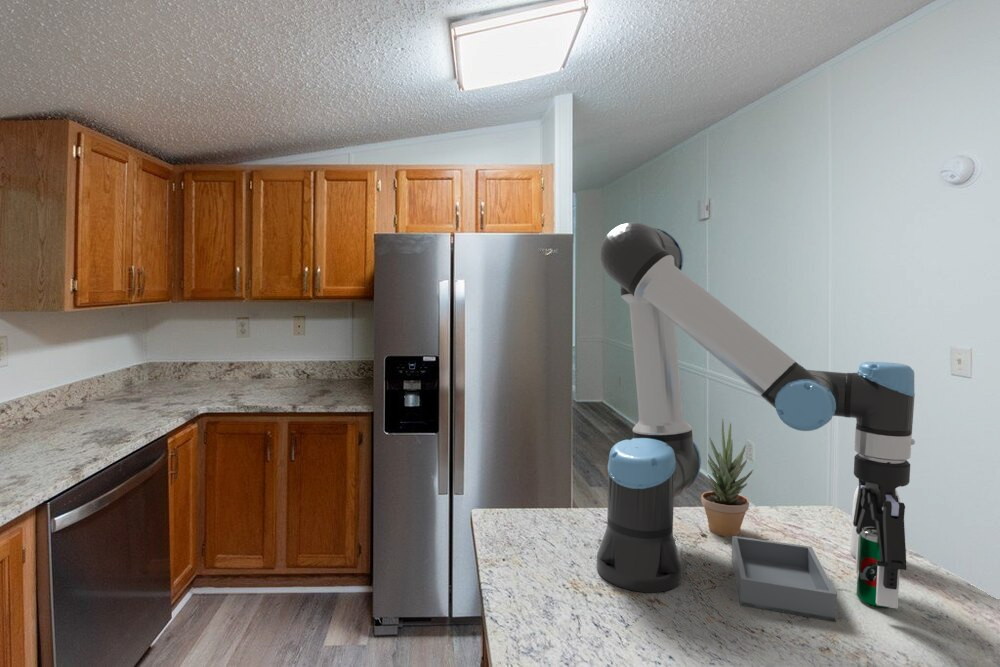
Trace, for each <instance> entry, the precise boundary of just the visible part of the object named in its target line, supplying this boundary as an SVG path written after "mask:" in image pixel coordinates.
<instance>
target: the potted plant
mask: <svg viewBox="0 0 1000 667" xmlns="http://www.w3.org/2000/svg"><path fill="white" fill-rule="evenodd" d="M709 444H710V446H711V450H712V452H713V454H714V457H715V459H716V462H717V464H718V465H717V464H716V462H714V460H713V459H712V457H711V455H710V454H709V453H707V455H708V459H707V464H708V465H709V468H710V470H711V475H712V477H713V478H712V477H711V476H710V475H709V474H708V475H707V476H708V478H709V480H710V481H711V483H712V484H713V485H712V484H711V483H709V482H708V485H709V487H710V488H711V490H712V491H711V490H710V491H705V492H703V493H702V494H701V497H700V498H701V504H702V505H703V507H704V512H705V515H706V518H707V523H708V524H707V525H708V529H709V531H710V532H711V533H714V534H717V535H718V536H721V537H732V536H736V535H737V536H739V534H740V533H741V527H742V524H743V521H744V519H745V516H746V512H747V511H748V510H749V509H750V501H749V499H748V498H747V497H745V496H743V495H741V494H740V493H741V492H742V490H743V489H744V488H745V487H746V486H747V485H748V483H745V482H746V480H748V478H749V477H750V476H751V475H752V474H753V472H754V469H752V470H751V471H749V473H748V474H747V475H745V476H743V477H742V478H739V476H740V474H741V473H742V471H743V469H744V467H745V466H746V464H747V459H746V460H744V455H745V452H746V451H745V450H746V447H747V444H744V446H743V448H742V449H741V451H740V452H739V453H738V455H737V456H736V457H735V459H734V460H733V450H734V449H733V448H734V446H733V444H734V442H733V439H732V423H731V422H730V423H729V427H728V430H727V437H726V438H725V426H724V418H722V419H721V450H722V452H718V451H717V448H716V447H715V445H714V443H713V440H712V438H711V437H709ZM721 453H722V454H721ZM743 460H744V462H743ZM738 478H739V479H738Z"/></svg>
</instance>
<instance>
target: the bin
mask: <svg viewBox="0 0 1000 667" xmlns="http://www.w3.org/2000/svg"><path fill="white" fill-rule="evenodd" d="M730 558H731V562H732V568H733V569H732V570H733V573H734V579H735V585H736V589H737V595H738V600H739V604H740V606H741V607H742V606H744V607H749V608H754V609H760V610H765V611H770V612H771V611H773V612H776V613H784V614H789V615H795V616H800V617H806V618H812V619H818V620H823V621H828V622H836V618H837V617H836V616H837V596H838V595H837V592H836V590H835V588H834V586H833V585H832V583H831V581H830V579H829V576H828V575H827V573H826V571H825V569H824V567H823V566H822V564H821V561H820V559H818V556H817V554H816V552H815V550H814V549H813V547H812V546H811V545H810V546H809V545H803V544H802V545H801V544H795V543H789V542H787V543H786V542H782V541H781V542H780V541H772V540H766V539H765V540H764V539H758V538H751V537H744V536H743V537H742V536H738V535H737V536H731V556H730Z"/></svg>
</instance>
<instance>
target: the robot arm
mask: <svg viewBox="0 0 1000 667" xmlns="http://www.w3.org/2000/svg"><path fill="white" fill-rule="evenodd" d="M600 246H601V247H600V251H599V252H600V254H599V255H600V256H599V257H600V263H601V266H602V268H603V269H604V272H605V273H606V274H607V275H608V276H609V278H611V279H612V280H613V281H615V283H617V284H618V285H620V286H619V287H620V296H621V299H622V300H624V301H625V302H626V303H628V306H629V315H630V324H631V337H632V339H631V340H632V349H633V350H632V351H633V360H634V373H635V374H634V375H635V386H636V396H637V397H636V398H637V408H638V422H637V423H636V424H635V425H634V426H633V428H632V438H631V439H624V440H620V441H619V442H616V443H615V444H614V445H613V446H612V447H611V449H610V451H609V456H608V462H607V512H606V513H607V517H606V519H607V521H606V524H607V525H606V529H605V532H604V535H603V537H602V539H601V543H600V546H599V548H598V551H597V554H596V571H597V573H598V574H599V575H600V576H601V577H602V578H603V579H604V580H605V581H607V582H609V583H610V584H612V585H614V586H617V587H619V588H621V589H625V590H629V591H634V592H641V593H660V592H666V591H669V590H672V589H674V588H675V587H678V585H679V584H680V583H681V582H682V574H683V570H682V569H683V567H682V566H683V564H682V561H681V558H680V554H679V551H678V546H677V544H676V540H675V537H674V532H673V531H674V507H675V506H674V504H675V499H676V498H678V497H679V496H680V495H681V494H683V493H684V492H685V491H686V490H687V489H689V488H690V487H691V486H692V485H693V484H694V483H695V481H696V480H697V477H698V476H699V472H700V471H701V464H702V457H701V452H700V450H699V448H698V445H697V444H696V442H695V441H694V437H693V427H692V425H690V424H689V423H688V422H687V421H686V420H685V419H684V415H683V414H684V413H683V404H682V403H683V402H682V401H683V400H682V392H681V390H682V389H681V379H680V368H679V355H678V344H677V331H676V326H678V328H680V329H681V330H682V331H683V332H685V334H687V335H689V336H690V337H691V339H693V340H694V341H696V342H697V343H698V344H699V345H700V346H701V347H703V348H704V350H706V351H708V352H709V354H711V355H712V356H713V357H715V358H716V359H717V360H718V361H719V362H720V363H722V365H724V366H725V367H726V368H727V369H729V370H730V371H731V372H732V373H733V374H735V375H736V376H737V377H738V378H739V379H741V380H742V381H743V382H744V383H745V384H747V385H748V386H749V387H750V388H751V389H752V390H753V391H754V392H756V393H757V394H758V395H759V396H761V397H762V398H763V399H764V400H765V401H766V402H767V403H769V404H770V405H771V406H772V408H774V409H775V411H776V414H777V415H778V417H779V419H780V420H781V421H782V422H783V423H784V424H785V425H786V426H788V427H790V428H791V429H794V430H796V431H801V432H810V431H811V432H812V431H815V430H818V429H820V428H822V427H824V426H825V425H827V424H828V423H829V422H830V421H831V420H833V417H843V418H851V419H852V418H853V419H854V418H855V419H856V421H855V422H856V423H855V432H854V433H855V434H854V451H855V452H856V455H854V459H853V460H854V462H853V475H854V477H856V478H857V479H858V485H859V489H858V496H857V502H856V508H855V515H854V521H853V525H854V526H855V527H857V528H856V532H857V534H860V533H861V532H862V531H863V530H862V528H863V527H877V536H878V544H879V552H880V561H877V562H875V564H876V566H878V568H877V587H876V604H877V605H880V606H886V607H889V608H893V609H898V607H899V605H898V604H899V589H900V573H901V572H900V571H907V568H908V564H907V550H906V549H907V548H906V529H905V510H906V506H905V503H904V502H901V501H900V502H899V501H898V496H896V491H897V488H900V487H901V488H902V487H907V486H908V485H909V484H910V480H911V479H910V477H911V476H910V475H911V463H910V462H909V461H908V460H909V459H910V458H911V457H912V456H911V454H912V451H911V450H912V446H913V445H915V442H916V440H914V439H913V438H912V436H913V435H912V434H913V424H914V409H915V408H914V406H915V396H916V394H915V393H916V392H915V371H914V369H912V367H911V366H910V365H907V364H903V363H895V362H885V361H863V362H861V363H860V364H859V366H858V369H857V372H837V371H825V370H811V369H806V368H804V367H803V366H802V365H801V364H800V363H798V362H797V361H796V360H795V359H793V358H792V357H791V356H790V355H789V354H787V353H786V352H784V350H781V348H779V347H778V346H777V345H776V344H775V343H773V342H772V341H771V340H769V339H768V338H767V337H766V336H764V335H763V334H762V333H760V332H759V331H758V330H757V329H755V328H754V327H753V326H752V325H751V324H749V322H747V321H745V319H743V318H742V317H740V316H739V315H738V314H737V313H735V312H734V311H732V310H731V309H730V308H729V307H728V306H726V305H725V304H724V303H723V302H721V301H720V300H719V299H717V298H716V297H715V296H714V295H713V294H712V293H710V292H709V291H708V290H706V289H705V288H704V287H702V286H701V285H700V284H699V283H698V282H696V281H695V280H693V279H692V278H691V277H690V276H689V275H687V274H686V273H684V271H682V270H683V267H684V261H685V260H684V253H683V249H682V247H681V245H680V243H679V242H678V241H677V239H676V238H675V237H673V235H671V234H670V233H669V232H667V231H665V230H663V229H660V228H655V227H652V226H649V225H646V224H643V223H641V222H636V221H635V222H626V223H623V224H622V223H621V224H619V225H617V226H616V227H614V228H612V230H610V231H609V232H608V233H607V234H606V236H605V237H604V239H603V241H602V244H601V245H600ZM895 489H896V491H895ZM858 553H859V535H857V549H856V558H855V572H856V574H857V572H858Z"/></svg>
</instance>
